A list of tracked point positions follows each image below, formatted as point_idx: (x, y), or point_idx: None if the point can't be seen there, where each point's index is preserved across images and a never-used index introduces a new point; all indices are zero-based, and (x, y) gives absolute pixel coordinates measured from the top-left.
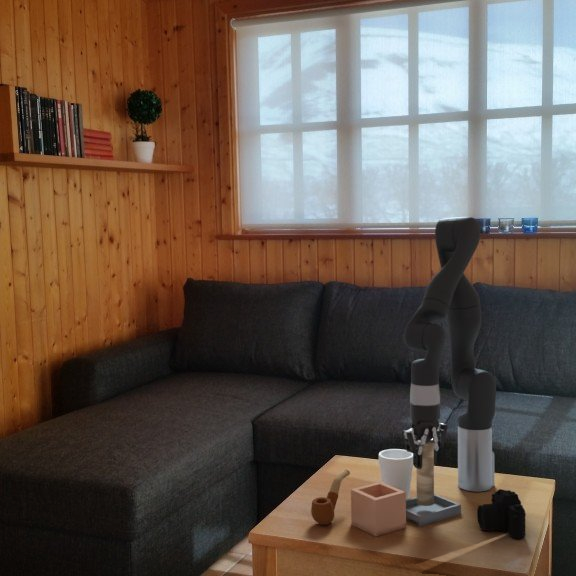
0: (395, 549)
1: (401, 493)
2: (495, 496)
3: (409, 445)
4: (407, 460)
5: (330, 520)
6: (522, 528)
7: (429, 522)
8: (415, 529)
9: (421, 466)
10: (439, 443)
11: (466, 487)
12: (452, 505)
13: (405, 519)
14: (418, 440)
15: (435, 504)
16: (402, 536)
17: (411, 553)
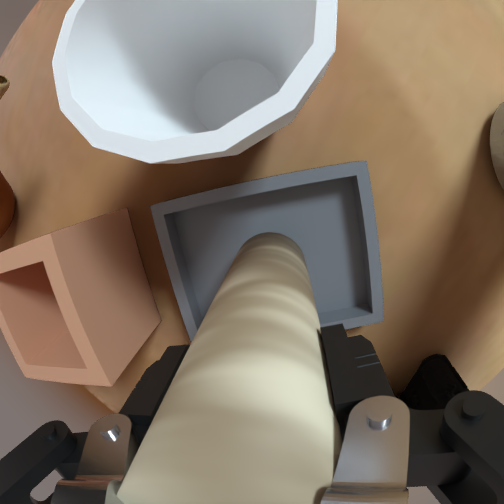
0: (106, 391)
1: (96, 384)
2: None
3: (42, 472)
4: (204, 154)
5: (3, 234)
6: None
7: None
8: (181, 341)
9: None
10: (433, 486)
11: (499, 169)
12: (368, 291)
13: (150, 331)
14: (167, 487)
15: (340, 221)
16: (134, 356)
17: None
